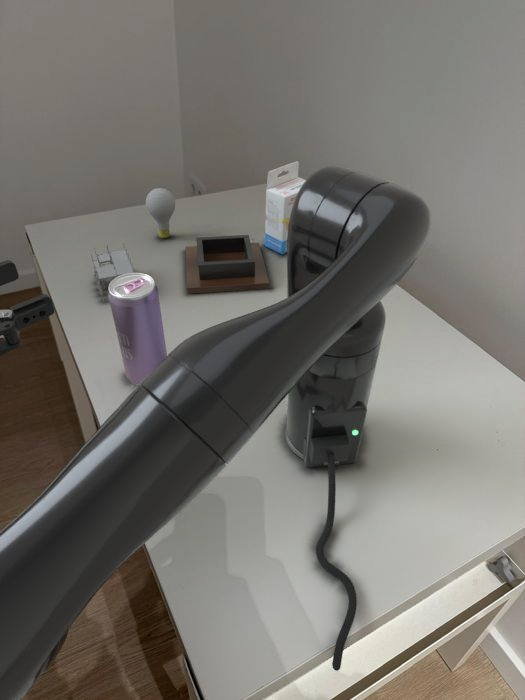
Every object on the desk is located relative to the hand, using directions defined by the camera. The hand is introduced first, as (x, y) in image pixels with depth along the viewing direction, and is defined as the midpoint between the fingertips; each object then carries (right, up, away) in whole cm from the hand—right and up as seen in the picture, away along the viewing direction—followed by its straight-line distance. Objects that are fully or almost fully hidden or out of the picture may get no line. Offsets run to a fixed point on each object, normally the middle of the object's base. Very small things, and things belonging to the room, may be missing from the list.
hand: (32, 285), depth 54 cm
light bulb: (+5, +15, +48) cm, 51 cm away
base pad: (+17, +8, +40) cm, 44 cm away
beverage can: (+8, -10, +19) cm, 23 cm away
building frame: (-1, +4, +35) cm, 36 cm away
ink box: (+29, +14, +47) cm, 57 cm away
